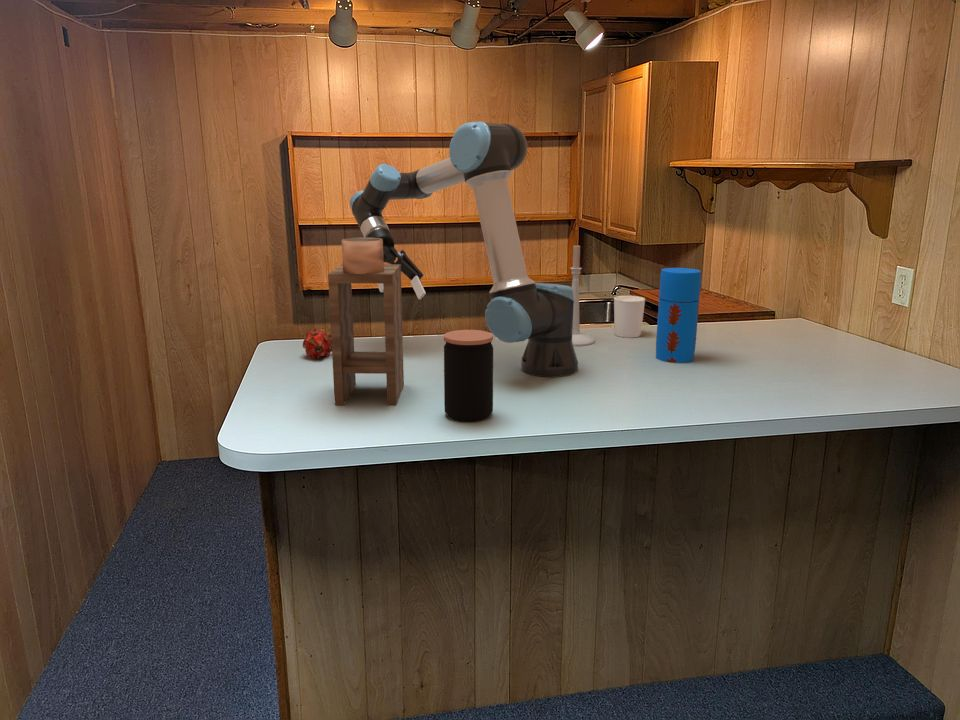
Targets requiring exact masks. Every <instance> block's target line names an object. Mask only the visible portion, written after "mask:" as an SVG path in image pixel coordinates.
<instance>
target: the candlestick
mask: <svg viewBox="0 0 960 720" xmlns="http://www.w3.org/2000/svg"><path fill="white" fill-rule="evenodd" d="M572 251H573V252H572V253H573V254H572V266H571V267H569V269H570V270H571V274H572V279H571V281H572V282H571V288H572V289H573V292H574V307H573V331H572V343H573V347H585V346H586V347H587V346H590V345H593V344H595V339H594V338H593V337H592V336H591V335H589V334H586V333H584V332H581V330H580V329H581V328H580V279H579V276H580V275H581V270H582V269H583V268H582V267H580V265H581V263H580V262H581V259H580V258H581V257H580V256H581V245H573V250H572Z"/></svg>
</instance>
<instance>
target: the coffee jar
mask: <svg viewBox="0 0 960 720" xmlns="http://www.w3.org/2000/svg"><path fill="white" fill-rule="evenodd" d="M493 340H494V335H493V334H492V333H491V331H485V330H480V329H459V330H452V331H448V332H446V333H444V334H443V341H444V342H445V344H444V346H443V377H444V378H443V384H444V387H443V388H444V391H443V392H444V393H443V394H444V398H443V399H444V403H443V404H444V407H443V408H444V414H446V416H447V417H448V418H449V419H451V420H453V421H457V422H461V423H473V422H474V423H475V422H481V421H484V420H486V419H489V417H490V416H491V414H492V413H493V410H494V346H493V343H492V342H493Z"/></svg>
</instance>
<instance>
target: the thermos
mask: <svg viewBox="0 0 960 720" xmlns="http://www.w3.org/2000/svg"><path fill="white" fill-rule="evenodd" d="M701 274H702V271H701V270H699V269H695V268H690V267H689V268H688V267H666V268H661V272H660V277H659V278H660V279H659V293H658V295H659V296H658V307H657V308H658V309H657V310H658V311H657V321H656V322H657V325H656V338H655V339H656V340H655V359H657V360H659V361H661V362H665V363H673V364H685V363H687V364H688V363H691V362H693V361H694V358H695V351H696V344H697V343H696V341H697V331H698V322H699V321H698V320H699V319H698V318H699V307H700V298H701V297H700V294H701V283H702V275H701Z"/></svg>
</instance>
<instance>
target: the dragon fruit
mask: <svg viewBox="0 0 960 720" xmlns="http://www.w3.org/2000/svg"><path fill="white" fill-rule="evenodd" d="M302 348H303V349H304V350H305V354H306V355H309V357H311V359H313V360H317V359H316V358H318V357H319V358H320V357H328V356H329V355H330V354H331V353H332V341H331V332H329V331H328V332H327V331H326V330H325V329H322V328H319V329H317V328H313V329H311V331H310V333H309V332H307V333H306V334H305V335H304V337H303V342H302ZM319 358H318V359H319Z"/></svg>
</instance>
